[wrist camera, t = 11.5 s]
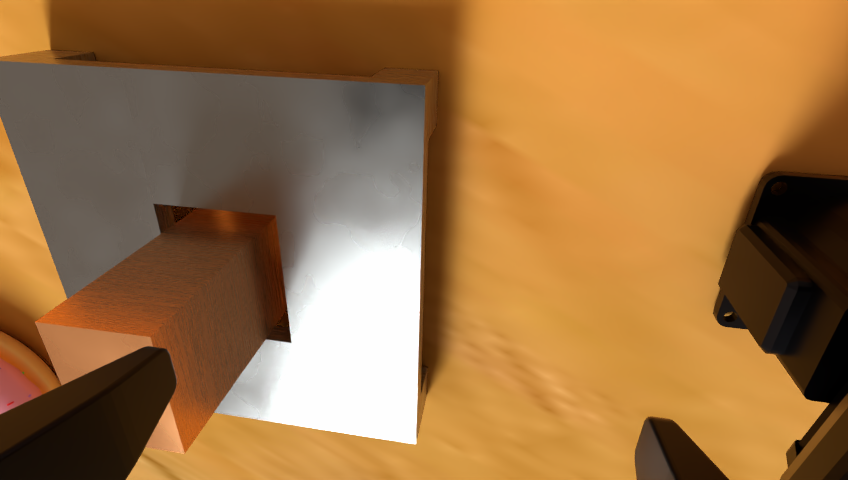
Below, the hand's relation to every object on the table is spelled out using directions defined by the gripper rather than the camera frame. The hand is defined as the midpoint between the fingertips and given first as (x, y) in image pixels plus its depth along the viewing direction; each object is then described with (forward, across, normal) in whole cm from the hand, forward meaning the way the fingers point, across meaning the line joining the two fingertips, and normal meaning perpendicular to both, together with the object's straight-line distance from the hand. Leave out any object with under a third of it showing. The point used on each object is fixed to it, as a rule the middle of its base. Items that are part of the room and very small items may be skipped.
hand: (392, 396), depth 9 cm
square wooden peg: (+12, +9, +4) cm, 15 cm away
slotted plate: (+12, +9, +4) cm, 16 cm away
